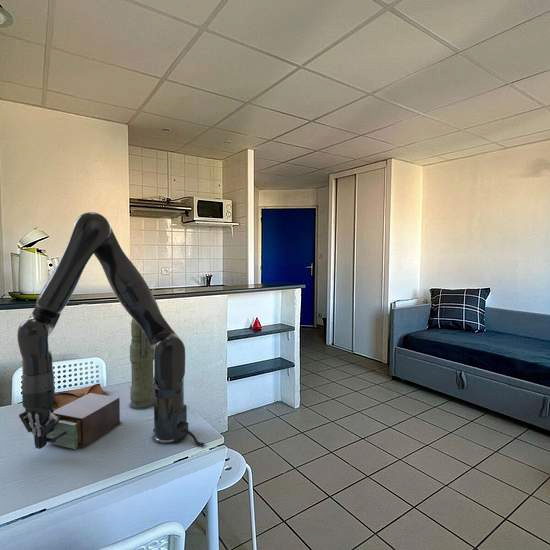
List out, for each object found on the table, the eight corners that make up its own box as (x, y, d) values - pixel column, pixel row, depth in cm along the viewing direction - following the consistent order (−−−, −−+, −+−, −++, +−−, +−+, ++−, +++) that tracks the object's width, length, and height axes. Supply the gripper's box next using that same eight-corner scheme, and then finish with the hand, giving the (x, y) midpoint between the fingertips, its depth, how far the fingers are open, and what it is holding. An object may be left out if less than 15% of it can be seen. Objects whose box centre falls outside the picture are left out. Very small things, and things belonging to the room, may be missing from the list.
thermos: (150, 395, 143) (149, 311, 140) (159, 406, 133) (158, 316, 131) (127, 400, 138) (125, 313, 135) (134, 412, 128) (133, 318, 126)
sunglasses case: (58, 410, 128) (55, 392, 130) (53, 414, 133) (50, 396, 135) (108, 395, 142) (105, 379, 143) (102, 399, 146) (99, 384, 148)
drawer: (60, 458, 98) (59, 433, 98) (29, 451, 102) (28, 427, 101) (110, 425, 117) (110, 404, 116) (83, 420, 120) (82, 399, 120)
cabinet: (83, 447, 105) (82, 418, 105) (51, 440, 109) (49, 412, 108) (120, 423, 120) (119, 397, 120) (90, 417, 124) (89, 392, 123)
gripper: (7, 389, 96) (10, 450, 97) (44, 395, 92) (47, 458, 93) (33, 379, 103) (35, 436, 104) (68, 385, 99) (70, 443, 100)
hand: (40, 446), depth 99 cm, fingers closed
